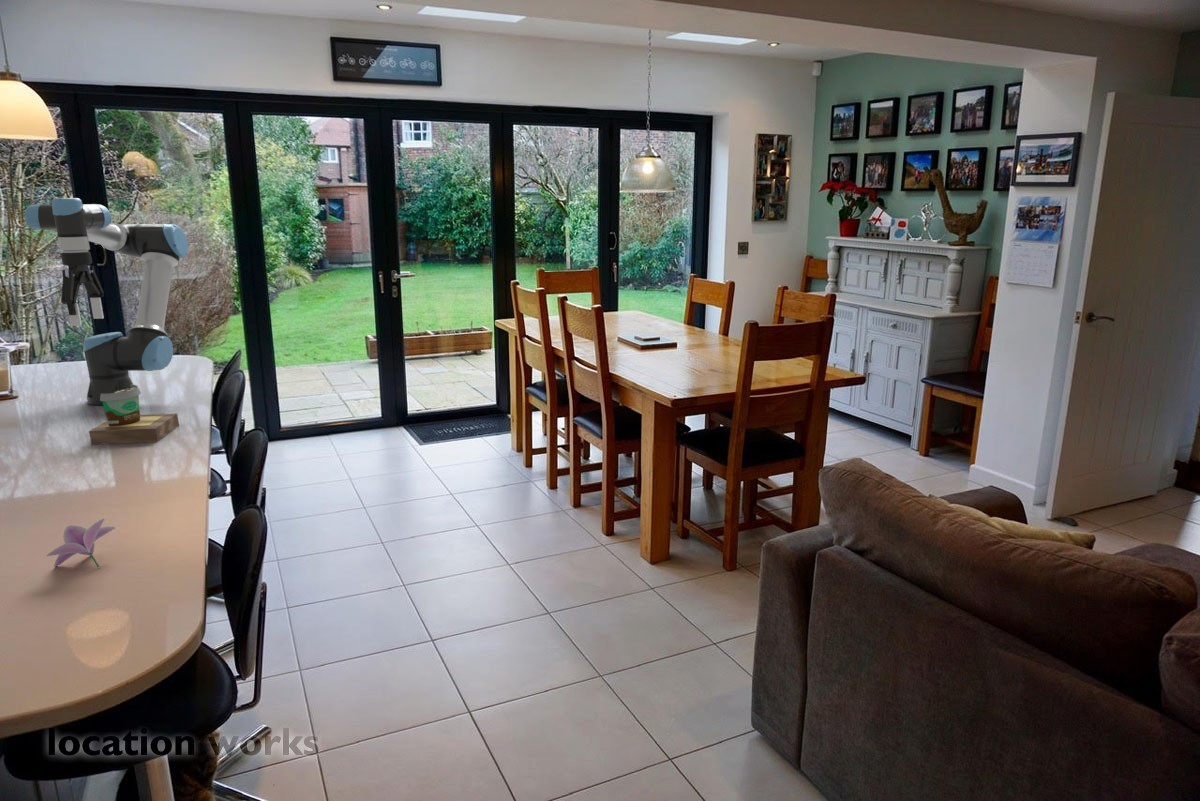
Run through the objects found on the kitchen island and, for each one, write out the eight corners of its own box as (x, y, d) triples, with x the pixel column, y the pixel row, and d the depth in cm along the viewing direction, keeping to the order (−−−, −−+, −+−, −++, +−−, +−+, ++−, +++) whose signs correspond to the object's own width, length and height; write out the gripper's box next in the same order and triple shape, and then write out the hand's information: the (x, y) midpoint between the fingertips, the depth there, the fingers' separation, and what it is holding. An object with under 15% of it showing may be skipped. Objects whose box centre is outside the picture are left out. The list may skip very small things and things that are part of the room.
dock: (117, 428, 241) (115, 415, 240) (179, 425, 243) (177, 412, 242) (91, 444, 225) (88, 430, 224) (157, 441, 227) (155, 427, 226)
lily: (131, 552, 160) (106, 512, 159) (128, 552, 150) (101, 509, 149) (68, 586, 154) (41, 544, 153) (60, 588, 144) (32, 543, 143)
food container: (123, 428, 226) (117, 395, 223) (104, 427, 227) (98, 394, 224) (154, 416, 237) (149, 384, 235) (137, 415, 239) (132, 383, 236)
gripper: (83, 248, 245) (94, 315, 251) (38, 254, 221) (52, 329, 227) (108, 248, 246) (119, 315, 252) (66, 254, 222) (80, 328, 228)
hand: (87, 322), depth 239 cm, fingers open, 13 cm apart
